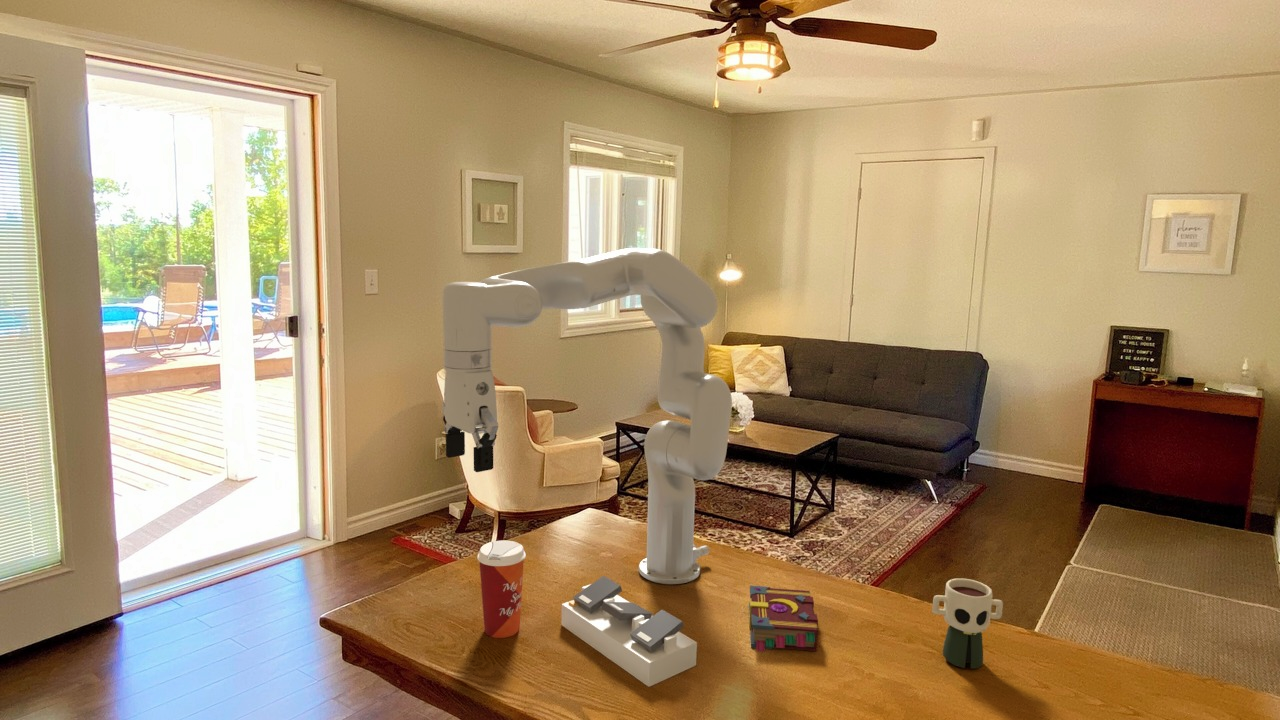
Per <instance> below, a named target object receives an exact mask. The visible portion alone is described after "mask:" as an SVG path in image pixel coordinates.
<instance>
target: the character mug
mask: <svg viewBox="0 0 1280 720" xmlns="http://www.w3.org/2000/svg"><path fill="white" fill-rule="evenodd" d="M993 597H994V596H993V589H992V588H990V587H989V586H988V585H986V584H985V583H982V582H981V581H977V580H974V579H969V578H951V579H949V580H948V581H946V583H945V591H944V595H940V594H937V595H934V596H933V599H932V610H931V611H932V614H935V615H941V616H942V615H943V619H944V621H945V623H947V624H948V625H949V626H948V627H947V629H946V630H947V631H946V635H945V640H944V644H943V648H942V656H943V657H944V658H945V661H947V662H949V663H950V664H952V665H953V666H957V667H960V668H966V663H970V669H976V668H980V667H981V666H982V665H983V664H984V646H983V645H984V644H983V643H984V642H983V635H982V634H983V633H982V632H984V631H986V630H987V629H988V628H989V626H990V625H991V620H993V619H994V620H1001V619H1002V617H1003V608H1004V607H1003V605H1004V602H1003V600H1001V599H996V598H995V599H993ZM940 602H943V603H944V604H943V608H940ZM992 606H995V608H996V609H995V612H992Z"/></svg>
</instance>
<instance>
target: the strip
mask: <svg viewBox="0 0 1280 720" xmlns="http://www.w3.org/2000/svg"><path fill="white" fill-rule="evenodd" d="M591 584H592V583H590V584H588V585H584V586H582V587H581V591H582V590H584V589H585V588H587V587H588V586H589V585H591ZM603 602H629V601H628V599H627V600H626V599H625V598H623V597H622V596H620V595H619V594H617V595H616V596H615V597H611V598H608V599H605V600H603ZM601 608H602V606H601V607H600V608H598V609H597V610H596V611H594V612H593V613H590V612H588V611H587V610H585V609H584V608H582V607H581V606H579V605H578V604H576V603H575V602H574V599H573V598H572V600H569V601H566V602H563V603H561V622H560V623H561V626H562V627H563V628H565V629H566V630H567V631H569V632H571V633H572V634H573V635H574V636H576V637H577V638H579V640H582V641H583V642H585V643H586V644H587V645H588V646H590V647H592V648H593V649H594V650H596V651H598V652H599V653H600V654H602V655H603V656H604V657H605V658H607V659H609V660H610V661H611V662H613V663H614V664H616V666H618V667H620V668H622V669H623V670H624V671H626V672H627V673H628V674H630V675H631V676H632V677H634V678H635V679H637V680H638V681H640V682H641V683H642V684H644V685H646V687H648V688H650V687H651V686H655V685H656V684H658V683H661V682H663V681H665V680H667V679H669V678H671V677H672V678H673V676H674V677H675V676H676V675H678V674H680V673H683V672H685V671H686V670H689V669H691V668H693V667H695V666H697V650H698V642H697V641H695V640H694V639H692V638H690V637H689V636H687V635H686V634H684V633H682V632H680V631H678V632H677V633H676V634H675V635H674V634H673V635H671V636H668V637H666V638H664V644H662V645H661V646H660V647H659V648H658V649H656V650H655V651H654V652H653V653H651V652H650V651H648V650H647V649H645V648H643V647H642V646H640V645H639V644H637V643H636V642H634V641H633V640H632V639H631V635H630V634H631V633H632V632H633V631H635V630H636V629H637V628H638V627H640V626H641V625H642V624H644V623H645V622H646V621H647V620H649V619H646V620H644V616H643V615H640V616H637V617H634V618H632V620H618V619H617V618H615V617H614V616H612V615H610V614H609V613H607V612H606V611H604V610H603V609H601ZM653 616H654V615H652V617H653Z"/></svg>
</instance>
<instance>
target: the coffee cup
mask: <svg viewBox="0 0 1280 720" xmlns="http://www.w3.org/2000/svg"><path fill="white" fill-rule="evenodd" d="M526 557H527V555H526V551H525V550H524V546H523V545H522V544H521V543H518V542H517V541H512V540H505V539H504V540H502V539H501V540H495V541H493V540H492V541H489V542H487V543H485V544H483V545H482V546H481V547H480V548H479V552H478V554H477V557H476V558H477V561H478V562H479V572H480V573H479V574H480V587H481V599H482V600H481V601H482V603H481V604H482V614H483V626H484V632H485V634H486V635H487V636H488V637H491V638H494V639H505V638H506V639H507V638H510V637H513V636H516V634H517V633H519V631H520V627H521V614H522V611H521V609H522V599H523V583H524V582H523V578H524V564H525V563H524V561H525V559H526Z"/></svg>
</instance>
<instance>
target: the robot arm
mask: <svg viewBox="0 0 1280 720" xmlns="http://www.w3.org/2000/svg"><path fill="white" fill-rule="evenodd" d="M635 295H637V296H640V304H641V308H642V310H643V312H644V314H646V316H647V317H648V318H649V319H650V320H651V322H653V324H654V326H655V327H656V329H657V331H658V333H659V336H660V340H661V358H660V369H659V376H658V384H657V403H658V405H659V407H660V408H661V410H662V411H664V412H666V413H669V414H670V415H673V416H676V417H680V418H683V419H687V420H690V424H686V423H683V422H679V421H675V420H669V419H668V420H662V421H658V422H655V423H654V424H653V425H652V426H651V427H650V428H649V430H648V431H647V433H646V435H645V438H644V443H643V449H644V456H645V462H646V463H645V464H646V469H647V478H648V479H647V480H648V483H647V486H648V487H647V488H648V495H647V523H646V524H647V528H646V558H644V559H641V561H640V562H639V564H638V572H639V574H640V575H641V576H642V577H643V578H645V580H648V581H650V582H653V583H657V584H662V585H681V584H685V583H686V584H687V583H689V582H693V581H694V580H696V579H697V578H698V577H699V576H700V574H701V566H700V564H699V563H698V562H697V560H699V558H700V557H702V556H705V555H709V553H710V548H709V546H708V545H702V546H698V547H697V546H696V544H694V538H695V537H694V536H695V535H694V534H695V533H694V531H695V506H696V505H695V503H696V502H695V501H696V486H695V481H694V479H695V480H698V481H708V480H711V479H713V478H715V477H716V476H717V475H718V474H719V473H720V472H721V470H722V468H723V466H724V464H725V462H726V461H725V460H726V456H727V449H728V443H729V434H730V425H731V419H732V409H733V408H732V407H733V399H732V394H731V390H730V387H729V385H728V384H727V383H726V381H725V380H723V378H721V377H720V376H718V375H715V374H711V373H707V372H705V370H704V367H705V366H704V365H705V352H706V351H705V350H706V348H705V347H706V345H705V344H706V343H705V339H704V334H703V331H702V328H704V327H705V326H707V325H709V324H710V323H711V322H712V321H713V320H714V318H715V317H716V316H717V312H718V299H717V295H716V293H715V291H714V290H713V288H712V287H711V286H710V284H708V283H707V282H706V281H705V280H704V279H703V278H701V277H700V276H699V275H698V274H696V273H695V272H694V271H693V270H692V269H691V268H689V267H688V266H687V265H686V264H684V262H682V261H681V260H679V259H678V258H677V257H675V256H674V255H673V254H671V253H669V252H667V251H665V250H663V249H659V248H644V247H643V248H641V247H629V248H622V249H618V250H614V251H610V252H606V253H602V254H597V255H592V256H590V257H589V256H588V257H584V258H579V259H575V260H569V261H564V262H557V263H553V264H549V265H543V266H538V267H536V266H535V267H530V268H525V269H524V268H523V269H519V270H514V271H509V272H506V273H502V274H501V273H500V274H498V275H493V276H490V277H486V278H483V279H482V280H480V281H478V282H477V281H453V282H449V283H447V284H446V285H444V287H443V289H442V324H443V325H442V326H443V327H442V329H443V330H442V331H443V332H442V334H443V335H442V336H443V337H442V338H443V370H444V371H445V375H444V391H443V392H444V393H443V395H444V396H443V402H442V403H441V410H442V414H443V417H442V421H443V423H444V425H445V426H444V429H443V430H444V433H445V456H446V457H447V458H449V459H450V458H455V457H456V458H457V457H461V456H465V454H466V444H465V441H466V439H465V434H466V433H468V434H471V435H472V438H473V441H474V444H475V446H474V447H473V471H474V472H475V473H481V472H485V471H486V472H487V471H491V470H493V469H494V446H495V444H496V439H497V432H498V428H499V423H498V412H497V411H498V409H497V393H496V386H495V385H496V384H495V379H494V378H495V377H494V374H493V370H492V368H493V366H492V365H493V363H492V361H493V358H492V357H493V353H492V351H493V350H492V346H493V345H492V343H493V342H492V338H493V337H492V328H493V327H494V326H495V327H505V328H506V327H508V328H523V327H527V326H529V325H531V324H533V323H535V321H536V320H538V319H539V317H540V316H541V314H542V312H543V310H549V309H551V310H553V309H554V310H579V309H586V308H591V307H593V306H598V305H601V304H605V303H608V302H611V301H614V300H619V299H621V298H626V297H630V296H635ZM465 432H466V433H465ZM481 434H482V436H480V435H481Z"/></svg>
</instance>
